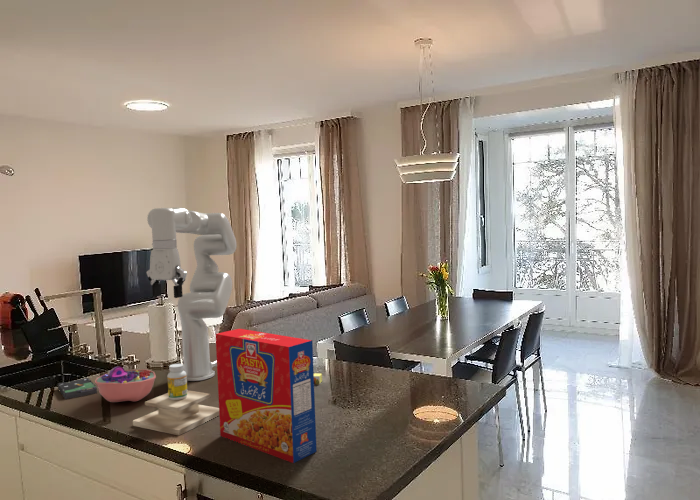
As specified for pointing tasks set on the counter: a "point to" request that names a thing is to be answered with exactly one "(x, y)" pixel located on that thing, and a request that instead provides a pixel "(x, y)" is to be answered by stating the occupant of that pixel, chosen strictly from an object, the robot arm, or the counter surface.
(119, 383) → the cell model
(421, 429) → the counter surface
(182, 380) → the supplement bottle
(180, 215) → the robot arm
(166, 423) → the stand
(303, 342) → the pasta box
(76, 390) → the disk drive
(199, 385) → the counter surface
